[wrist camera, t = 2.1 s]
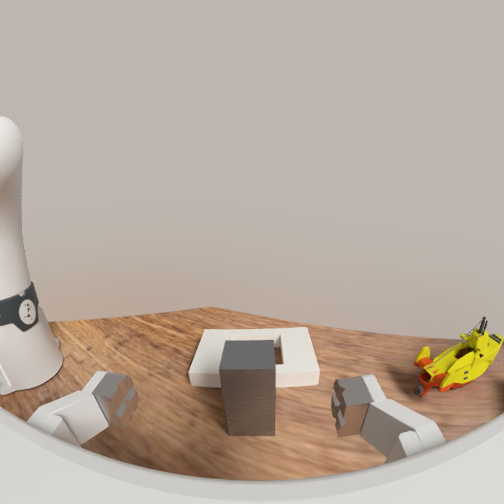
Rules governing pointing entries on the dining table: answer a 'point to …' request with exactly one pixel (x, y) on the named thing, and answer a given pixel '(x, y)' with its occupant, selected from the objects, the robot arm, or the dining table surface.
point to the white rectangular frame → (289, 339)
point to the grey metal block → (249, 387)
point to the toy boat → (458, 361)
